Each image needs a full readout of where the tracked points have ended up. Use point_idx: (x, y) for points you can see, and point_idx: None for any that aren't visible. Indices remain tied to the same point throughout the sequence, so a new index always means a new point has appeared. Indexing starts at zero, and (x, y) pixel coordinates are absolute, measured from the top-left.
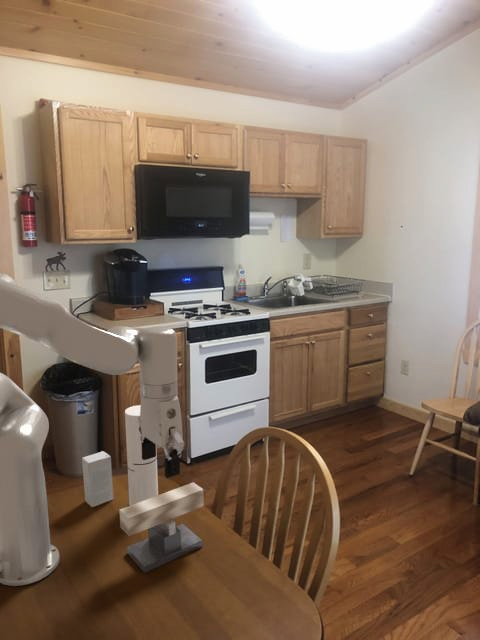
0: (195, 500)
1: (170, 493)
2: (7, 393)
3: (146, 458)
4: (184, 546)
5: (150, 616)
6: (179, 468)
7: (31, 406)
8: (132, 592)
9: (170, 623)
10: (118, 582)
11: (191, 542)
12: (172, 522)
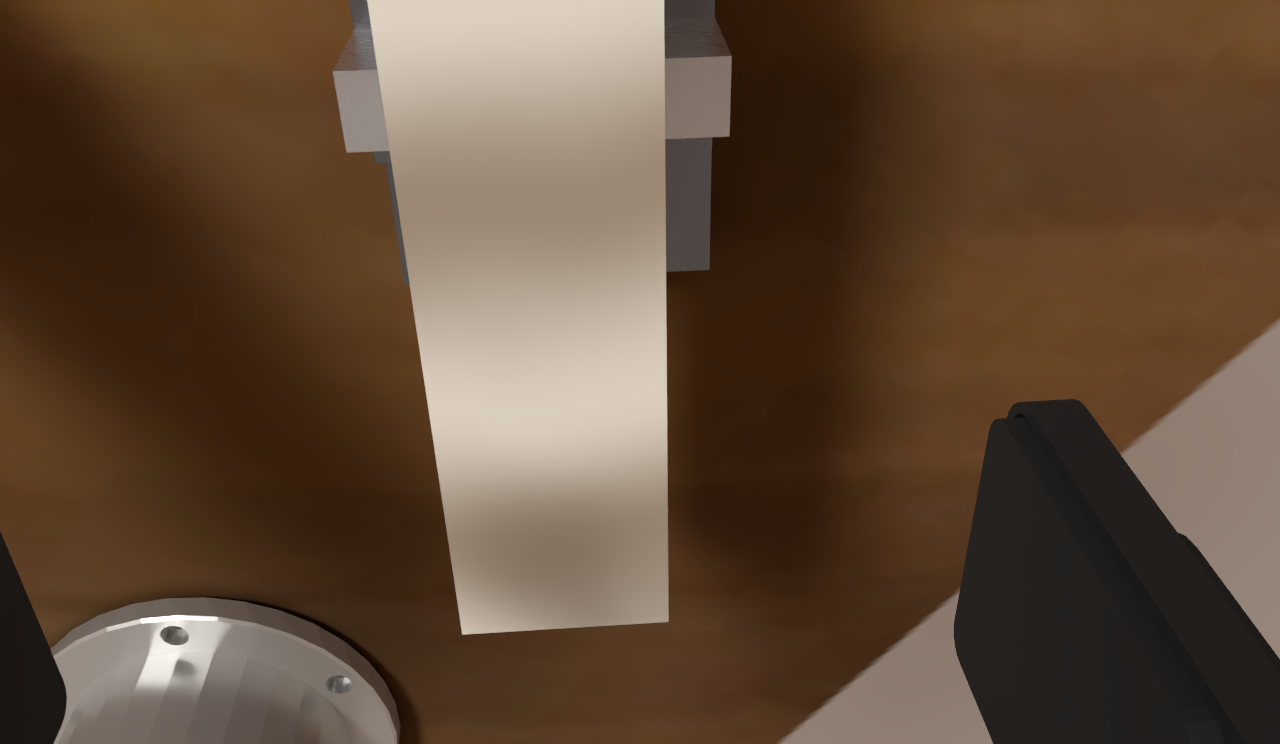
0: None
1: (446, 40)
2: None
3: (44, 676)
4: None
5: (1065, 367)
6: (1122, 470)
7: None
8: (817, 373)
9: (1200, 304)
10: (675, 404)
11: None
12: (714, 85)
